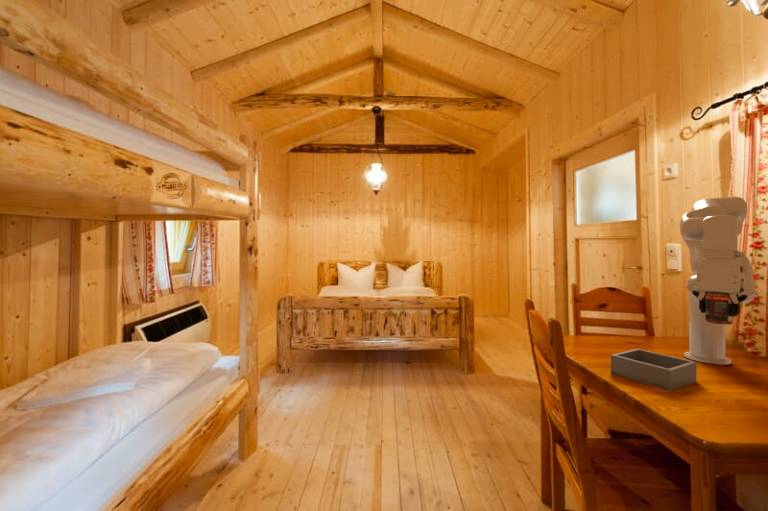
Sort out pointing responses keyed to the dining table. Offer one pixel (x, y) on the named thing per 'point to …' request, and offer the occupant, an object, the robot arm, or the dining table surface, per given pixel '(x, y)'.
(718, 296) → the supplement bottle
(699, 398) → the dining table surface
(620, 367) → the bin
